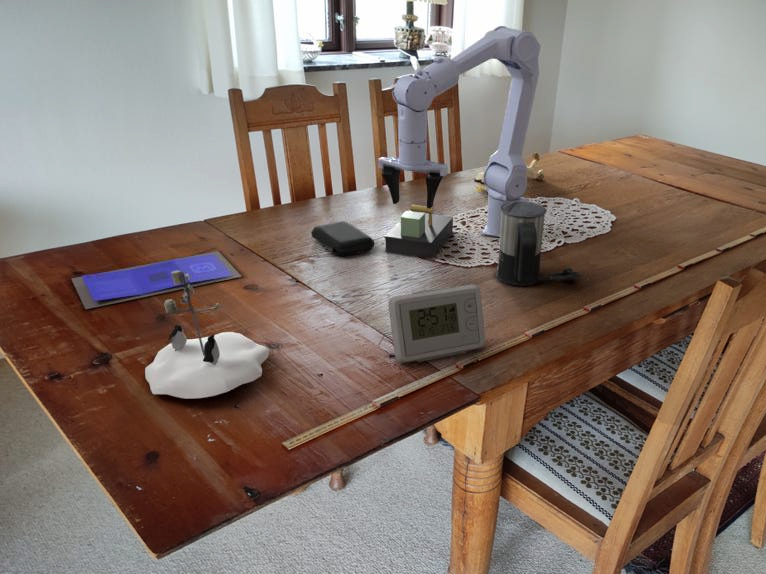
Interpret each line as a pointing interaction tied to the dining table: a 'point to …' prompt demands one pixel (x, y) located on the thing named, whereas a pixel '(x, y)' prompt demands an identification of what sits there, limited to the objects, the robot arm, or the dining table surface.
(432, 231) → the cover
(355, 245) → the carrying case
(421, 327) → the digital clock
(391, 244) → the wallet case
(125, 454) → the dining table surface
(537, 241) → the milk frother
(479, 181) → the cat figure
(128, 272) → the booklet
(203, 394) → the figurine
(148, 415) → the dining table surface
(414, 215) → the block
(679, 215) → the dining table surface
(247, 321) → the dining table surface
